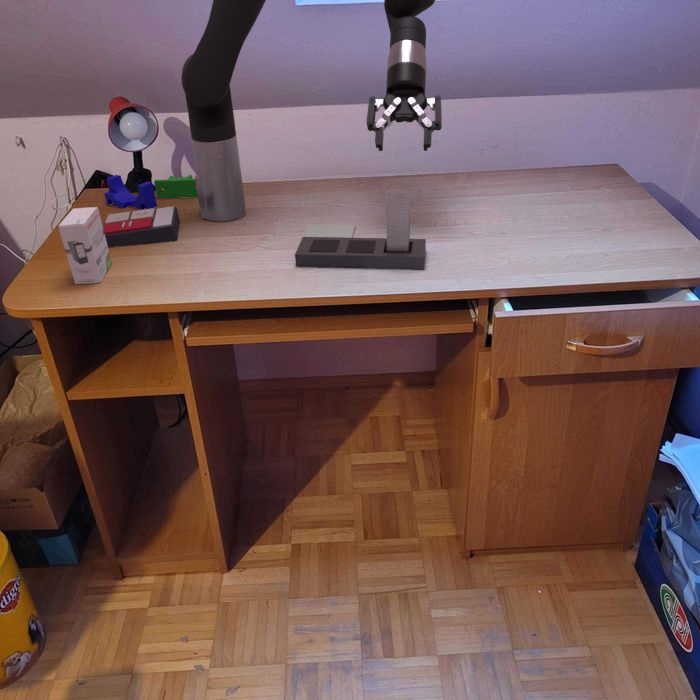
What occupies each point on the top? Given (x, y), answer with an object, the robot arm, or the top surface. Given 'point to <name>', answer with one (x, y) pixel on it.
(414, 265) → the dark grey slotted tray
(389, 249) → the steel plug
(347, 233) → the mat
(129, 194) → the cable clip
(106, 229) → the red grey box
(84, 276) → the ink box
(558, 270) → the top surface
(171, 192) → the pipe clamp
